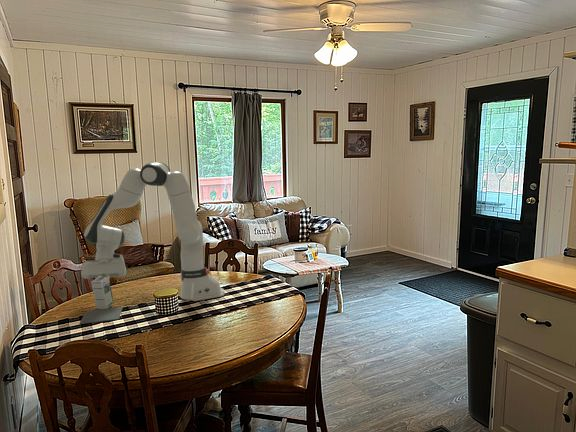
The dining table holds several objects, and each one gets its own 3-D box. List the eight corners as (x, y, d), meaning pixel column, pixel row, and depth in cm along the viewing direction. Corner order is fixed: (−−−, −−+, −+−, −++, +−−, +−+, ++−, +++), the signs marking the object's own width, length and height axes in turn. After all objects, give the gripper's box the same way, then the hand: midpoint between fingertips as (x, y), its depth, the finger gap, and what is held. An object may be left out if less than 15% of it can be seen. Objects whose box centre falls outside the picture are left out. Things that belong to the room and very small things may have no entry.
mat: (122, 307, 203) (122, 306, 203) (119, 319, 188) (119, 318, 188) (86, 311, 199) (85, 311, 199) (79, 324, 183) (79, 323, 183)
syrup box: (107, 309, 201) (102, 281, 197) (96, 308, 202) (90, 280, 198) (114, 303, 207) (109, 276, 203) (103, 303, 208) (98, 275, 204)
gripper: (81, 257, 209) (78, 282, 200) (125, 254, 214) (124, 278, 206) (83, 264, 213) (81, 289, 205) (126, 261, 219) (126, 285, 211)
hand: (103, 283), depth 206 cm, fingers closed
